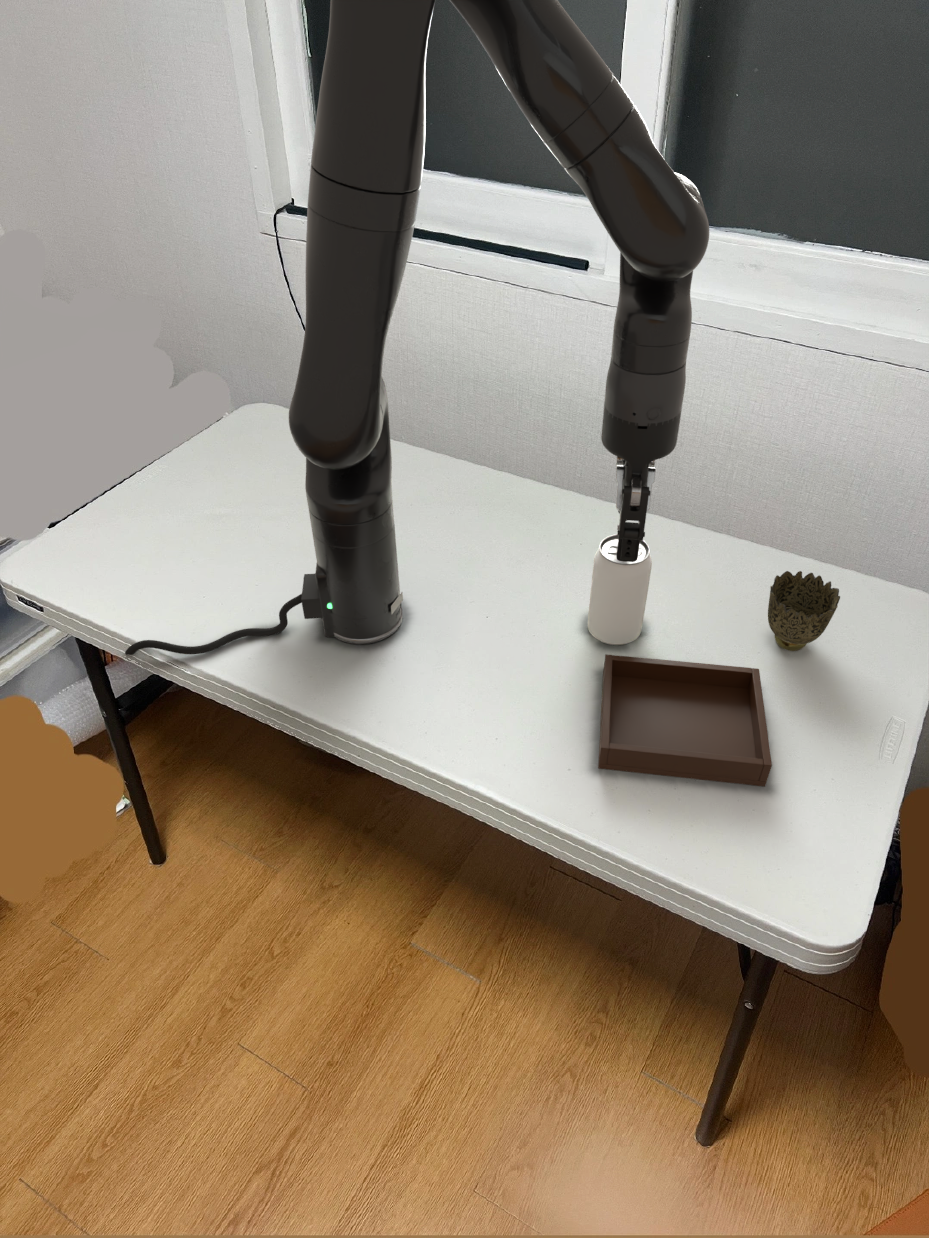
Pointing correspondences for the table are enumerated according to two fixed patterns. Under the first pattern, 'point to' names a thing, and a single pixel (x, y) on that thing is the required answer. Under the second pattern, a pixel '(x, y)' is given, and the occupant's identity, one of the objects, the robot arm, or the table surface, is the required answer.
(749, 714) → the tray
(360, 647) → the table surface
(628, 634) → the can
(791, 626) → the cup
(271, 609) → the table surface
